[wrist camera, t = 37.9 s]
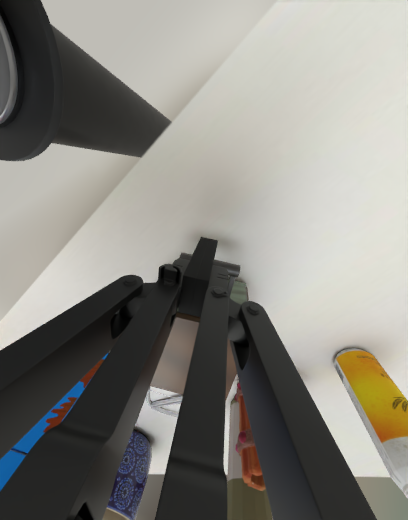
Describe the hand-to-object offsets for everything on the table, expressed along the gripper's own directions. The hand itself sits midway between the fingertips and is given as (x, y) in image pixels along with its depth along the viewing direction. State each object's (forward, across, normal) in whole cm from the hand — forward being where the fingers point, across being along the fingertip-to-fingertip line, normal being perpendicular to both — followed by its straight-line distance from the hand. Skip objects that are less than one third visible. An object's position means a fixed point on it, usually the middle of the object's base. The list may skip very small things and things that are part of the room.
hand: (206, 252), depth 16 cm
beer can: (+9, +28, -18) cm, 34 cm away
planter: (+9, -12, -72) cm, 74 cm away
